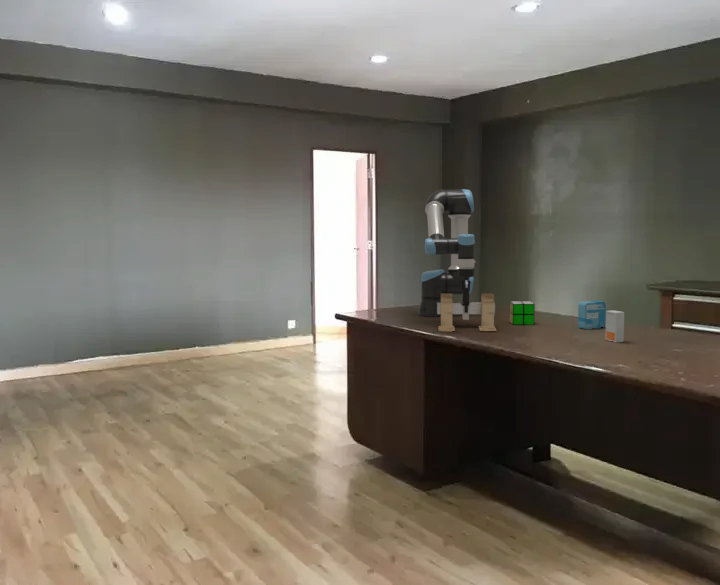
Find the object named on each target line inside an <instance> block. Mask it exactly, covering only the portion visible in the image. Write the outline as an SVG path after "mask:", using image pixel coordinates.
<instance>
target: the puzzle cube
mask: <svg viewBox="0 0 720 585" xmlns="http://www.w3.org/2000/svg"><path fill="white" fill-rule="evenodd" d="M509 303H510V304H509V306H510V307H509V309H510V311H509V322H510V323H511V324H512V325H513V326H516V325H517V326H521V325H522V326H534V325H535V307H536V306H535V304H534V303H533V302H532V301H529V300H528V301H526V300H525V301H517V300H516V301H514V300H513V301H512V300H511V301H510V302H509Z"/></svg>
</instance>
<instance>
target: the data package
mask: <svg viewBox="0 0 720 585" xmlns="http://www.w3.org/2000/svg"><path fill="white" fill-rule="evenodd" d="M606 307H607V303H606V302H605V301H601V300H590V301H589V300H586V301H580V302H579V303H578V306H577V308H578V309H577V311H578V312H577V326H578V328H579V329H582V330H593V329H592V328H596V329H602V328H601V327H603V328H605V327H606V311H607V310H606V309H607V308H606Z"/></svg>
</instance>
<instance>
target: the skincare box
mask: <svg viewBox="0 0 720 585" xmlns="http://www.w3.org/2000/svg"><path fill="white" fill-rule="evenodd" d="M624 332H625V312H624V311H620V310H619V311H618V310H613V309H612V310H606V316H605V337H604V340H605V341H609V342H612V341H613V342H612V343H623V342H624V338H625V337H624V334H625V333H624Z"/></svg>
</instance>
